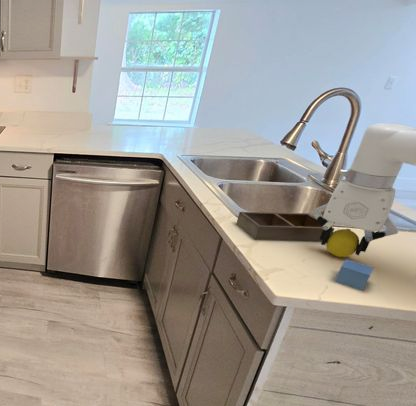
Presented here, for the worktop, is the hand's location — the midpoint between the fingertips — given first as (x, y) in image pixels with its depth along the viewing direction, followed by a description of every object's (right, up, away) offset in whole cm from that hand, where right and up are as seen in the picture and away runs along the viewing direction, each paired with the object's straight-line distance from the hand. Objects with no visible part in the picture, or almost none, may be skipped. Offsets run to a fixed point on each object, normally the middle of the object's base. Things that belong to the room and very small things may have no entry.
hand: (340, 247), depth 90 cm
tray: (-4, +2, +13) cm, 14 cm away
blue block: (-7, -7, -9) cm, 13 cm away
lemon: (0, -3, +1) cm, 3 cm away
